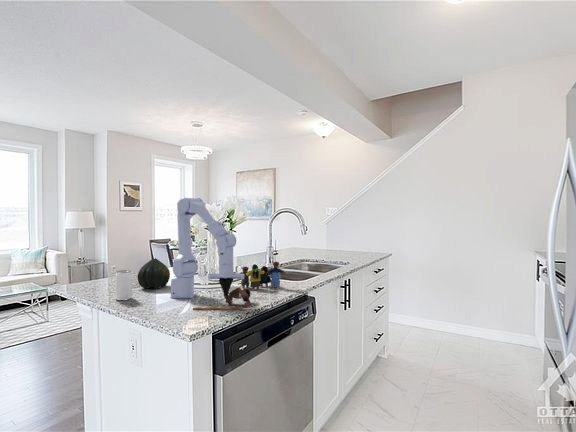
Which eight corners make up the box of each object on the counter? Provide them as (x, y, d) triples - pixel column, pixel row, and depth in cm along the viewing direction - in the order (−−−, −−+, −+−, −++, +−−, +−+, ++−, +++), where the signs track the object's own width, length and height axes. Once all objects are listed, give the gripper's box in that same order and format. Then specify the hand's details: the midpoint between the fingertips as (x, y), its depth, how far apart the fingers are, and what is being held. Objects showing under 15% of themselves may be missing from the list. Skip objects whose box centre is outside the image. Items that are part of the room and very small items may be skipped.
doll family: (278, 284, 170) (279, 259, 170) (286, 288, 162) (287, 261, 162) (236, 289, 159) (236, 262, 159) (242, 293, 151) (242, 264, 151)
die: (229, 296, 143) (229, 286, 143) (231, 294, 148) (231, 283, 148) (240, 296, 143) (240, 286, 143) (241, 294, 148) (241, 283, 148)
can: (135, 298, 142) (135, 270, 142) (122, 301, 136) (122, 273, 136) (125, 296, 145) (125, 269, 145) (111, 300, 139) (111, 271, 139)
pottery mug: (245, 312, 124) (234, 293, 124) (228, 319, 129) (217, 301, 128) (260, 296, 135) (250, 279, 134) (244, 303, 139) (234, 287, 139)
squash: (148, 281, 150) (164, 254, 160) (126, 280, 157) (142, 254, 166) (166, 296, 160) (180, 270, 169) (145, 294, 166) (159, 269, 175)
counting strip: (192, 309, 125) (192, 307, 125) (194, 308, 127) (194, 306, 127) (242, 309, 125) (242, 307, 125) (243, 308, 127) (243, 306, 127)
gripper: (206, 265, 130) (206, 299, 130) (242, 265, 130) (242, 299, 130) (210, 262, 137) (210, 294, 137) (244, 262, 137) (244, 294, 137)
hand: (226, 296), depth 134 cm, fingers closed
